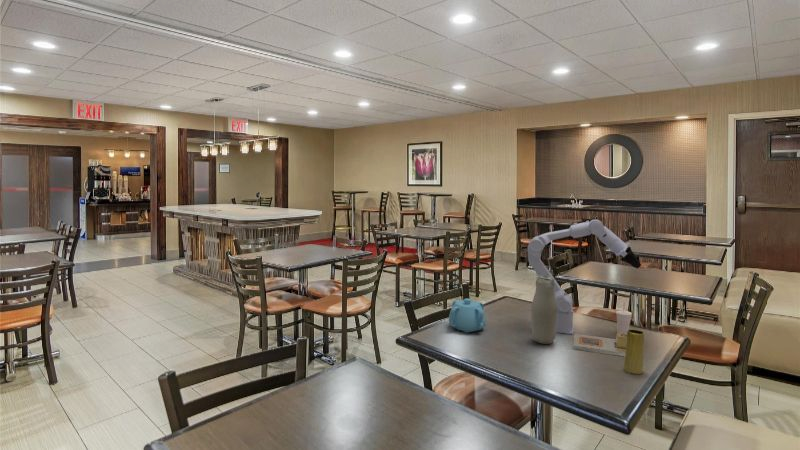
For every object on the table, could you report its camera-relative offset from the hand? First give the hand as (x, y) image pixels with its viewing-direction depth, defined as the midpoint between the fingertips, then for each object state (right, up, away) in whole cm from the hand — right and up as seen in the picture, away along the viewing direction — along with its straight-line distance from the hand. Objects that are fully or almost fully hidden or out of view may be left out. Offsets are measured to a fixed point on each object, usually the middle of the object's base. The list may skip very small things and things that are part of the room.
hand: (638, 265), depth 185 cm
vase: (-16, -35, -26) cm, 47 cm away
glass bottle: (-40, -32, 0) cm, 51 cm away
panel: (-16, -33, -5) cm, 36 cm away
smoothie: (-1, -31, +11) cm, 33 cm away
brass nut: (-10, -33, -7) cm, 35 cm away
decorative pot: (-68, -30, +16) cm, 76 cm away
